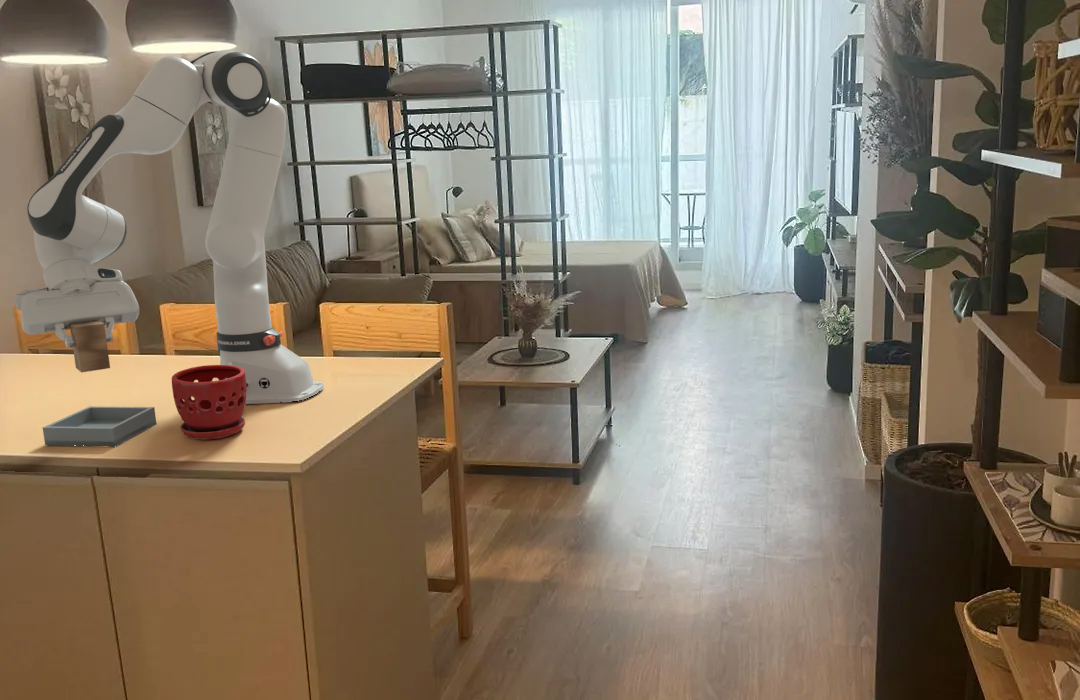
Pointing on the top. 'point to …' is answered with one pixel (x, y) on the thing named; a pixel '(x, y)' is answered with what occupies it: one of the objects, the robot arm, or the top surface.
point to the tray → (99, 426)
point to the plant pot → (210, 400)
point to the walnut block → (90, 346)
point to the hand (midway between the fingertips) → (90, 343)
